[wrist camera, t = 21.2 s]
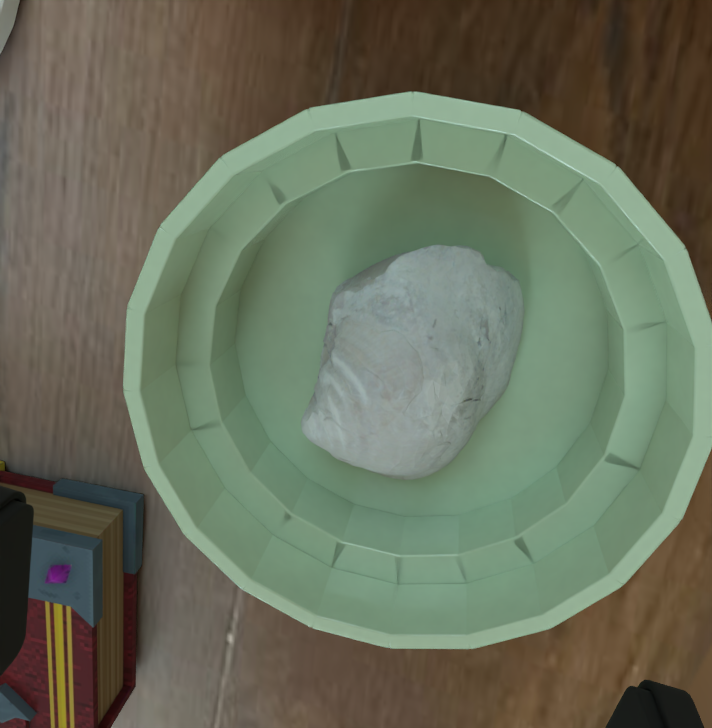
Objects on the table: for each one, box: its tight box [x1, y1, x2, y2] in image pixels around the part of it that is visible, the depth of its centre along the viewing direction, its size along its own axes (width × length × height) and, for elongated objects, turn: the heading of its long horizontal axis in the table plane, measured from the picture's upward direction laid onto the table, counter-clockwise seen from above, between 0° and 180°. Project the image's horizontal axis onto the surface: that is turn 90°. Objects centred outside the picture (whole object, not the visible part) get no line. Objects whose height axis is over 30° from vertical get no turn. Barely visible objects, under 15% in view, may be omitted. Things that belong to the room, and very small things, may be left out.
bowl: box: [123, 91, 712, 649], centre depth 22 cm, size 17×17×6 cm
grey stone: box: [301, 244, 524, 480], centre depth 22 cm, size 9×8×5 cm
